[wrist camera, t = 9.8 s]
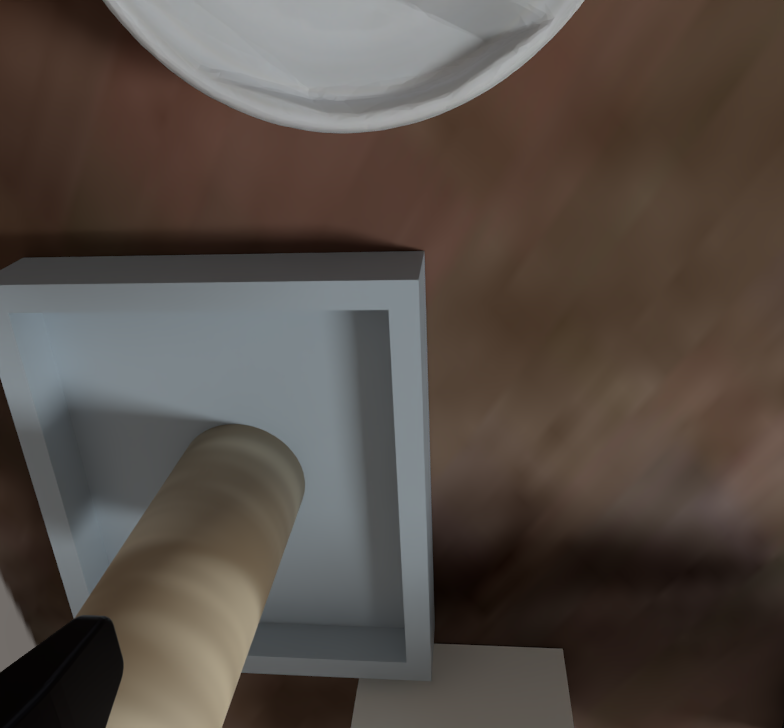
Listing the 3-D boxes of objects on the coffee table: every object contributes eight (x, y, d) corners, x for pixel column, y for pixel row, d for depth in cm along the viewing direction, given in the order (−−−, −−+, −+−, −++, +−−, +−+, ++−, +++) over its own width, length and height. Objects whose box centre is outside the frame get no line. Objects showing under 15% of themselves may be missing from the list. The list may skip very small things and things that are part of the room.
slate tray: (424, 251, 21) (418, 279, 18) (434, 625, 27) (431, 681, 24) (23, 257, 22) (-28, 285, 20) (118, 613, 28) (88, 665, 26)
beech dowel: (298, 425, 22) (159, 751, 12) (310, 531, 24) (196, 891, 14) (172, 422, 23) (-60, 736, 13) (192, 527, 24) (1, 875, 15)
